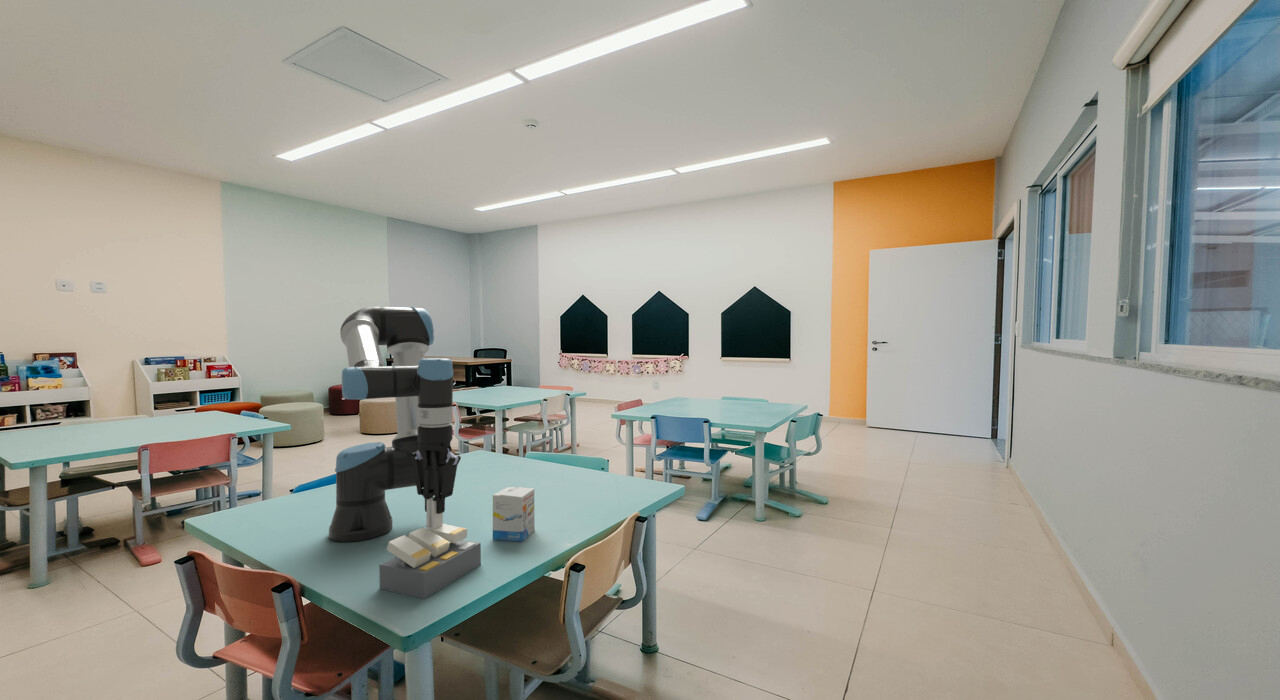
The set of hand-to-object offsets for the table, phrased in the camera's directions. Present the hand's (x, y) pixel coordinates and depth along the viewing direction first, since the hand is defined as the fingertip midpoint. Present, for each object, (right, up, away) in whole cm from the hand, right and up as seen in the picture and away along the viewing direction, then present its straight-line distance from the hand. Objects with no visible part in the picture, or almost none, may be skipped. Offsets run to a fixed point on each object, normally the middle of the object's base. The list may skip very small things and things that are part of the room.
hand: (434, 526), depth 118 cm
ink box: (+14, -9, +17) cm, 24 cm away
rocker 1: (-1, -1, -11) cm, 12 cm away
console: (+2, -9, -7) cm, 11 cm away
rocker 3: (+3, -1, -1) cm, 4 cm away
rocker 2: (+1, -1, -6) cm, 7 cm away
